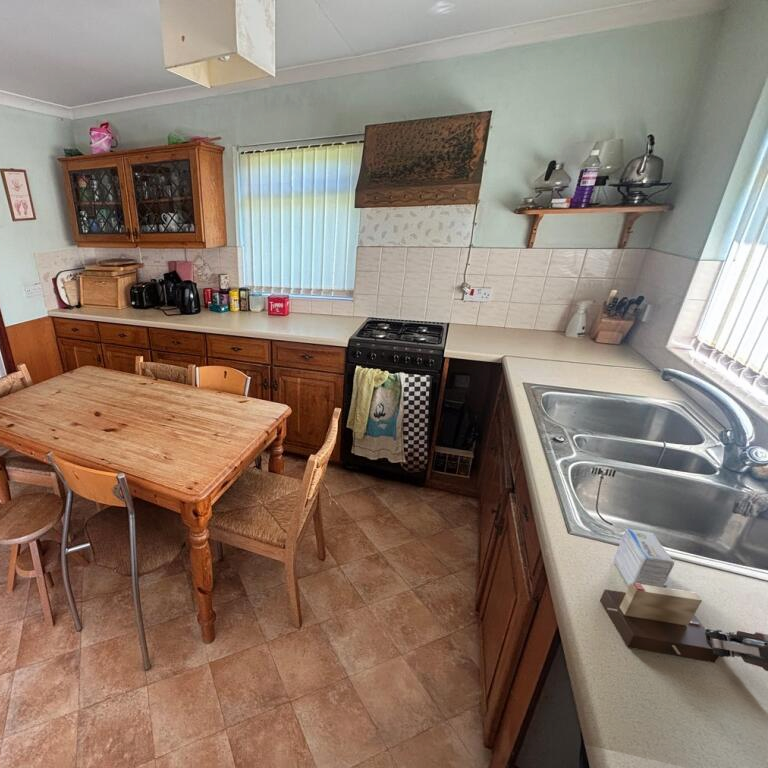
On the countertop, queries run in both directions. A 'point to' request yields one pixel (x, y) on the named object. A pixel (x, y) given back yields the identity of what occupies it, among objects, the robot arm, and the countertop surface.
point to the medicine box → (642, 559)
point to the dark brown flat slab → (658, 632)
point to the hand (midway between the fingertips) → (713, 638)
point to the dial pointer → (660, 604)
